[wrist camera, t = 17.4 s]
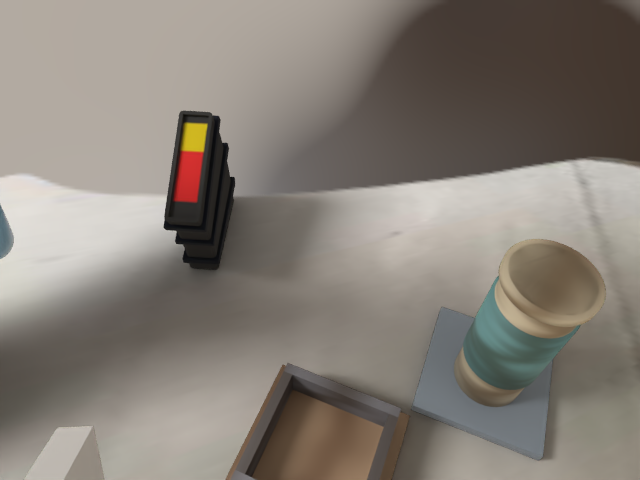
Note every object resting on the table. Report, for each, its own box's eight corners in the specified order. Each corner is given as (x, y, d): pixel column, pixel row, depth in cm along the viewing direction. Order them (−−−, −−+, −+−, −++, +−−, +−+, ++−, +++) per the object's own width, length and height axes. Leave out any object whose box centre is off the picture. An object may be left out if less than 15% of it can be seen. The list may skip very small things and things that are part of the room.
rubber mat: (411, 409, 43) (413, 405, 42) (439, 311, 50) (441, 306, 49) (538, 460, 41) (542, 456, 40) (550, 350, 47) (554, 345, 47)
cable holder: (217, 502, 38) (210, 488, 35) (283, 369, 45) (282, 348, 42) (363, 573, 35) (369, 565, 32) (408, 419, 43) (416, 401, 40)
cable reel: (441, 393, 43) (494, 297, 32) (458, 331, 47) (510, 227, 36) (519, 424, 42) (604, 335, 30) (529, 357, 46) (607, 258, 34)
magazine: (240, 172, 60) (216, 109, 46) (228, 277, 57) (199, 246, 42) (209, 170, 60) (176, 107, 46) (196, 275, 57) (156, 243, 42)
